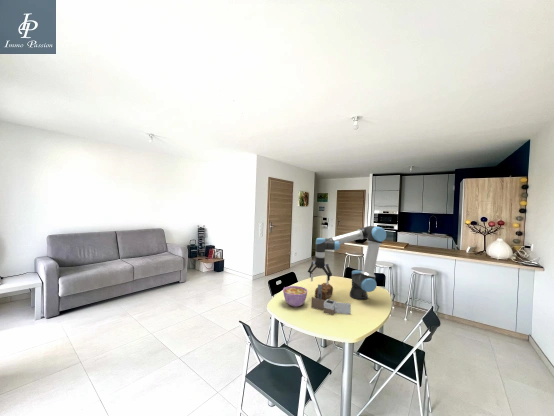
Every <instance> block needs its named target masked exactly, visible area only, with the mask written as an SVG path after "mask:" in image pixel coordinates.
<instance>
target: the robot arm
mask: <svg viewBox="0 0 554 416" xmlns="http://www.w3.org/2000/svg"><path fill="white" fill-rule="evenodd" d="M386 238H387V232H386V230H385V229H384V228H383V227H380V226H375V225H368V226H364V227H361V228H358V229H357V230H355V231H350V232H347V233H344V234H340V235H336V236H331V237H330V238H324V237H323V238H322V237H317V238H316V240H315V261H314V260H313V261H311V265H310V266H309V268H308V269H307V273H309V278H310V282H313V281H314V273H313V272H314V271H315V270H316V269H322V271H323V272H324V273H325V274H326V283H327V285H328V284H330V283H329V281H330V280H331V279H330V278H331V277H332V276H333V273H332V271H331V268H330V266H329V263H325V261H326V258H325V257H326V255H325V254H326V251H339V250H340V248H341V245H342V244H346V243H349V242H353V241H356V240H364V239H367V240H366V241H367V243H368V245H367V250H366V252H365V253H366V255H365V258H364V264H363V270H359V269H357V270H356V269H355V270H352V271H351V288H350V290H349V297H351V298H353V299H355V300H361V301H362V300H363V301H364V300H368V293H371V292H373V291H375V290H376V289H377V281H376V274H375V270H376V266H377V265H376V264H377V262H378V261H377V260H378V256H379V250H380V246H381V245H382V244H383V242H384V241H385V240H386ZM314 265H315V266H314Z"/></svg>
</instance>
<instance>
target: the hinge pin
mask: <svg viewBox="0 0 554 416" xmlns="http://www.w3.org/2000/svg"><path fill="white" fill-rule="evenodd" d="M317 287H318V299H322V285H321V284H317Z"/></svg>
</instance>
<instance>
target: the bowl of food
mask: <svg viewBox="0 0 554 416" xmlns="http://www.w3.org/2000/svg"><path fill="white" fill-rule="evenodd" d="M282 292H283V297H284V302H285V303H287V304H288V305H289V306H291V307H295V308H296V307H300V306H302V305H304V304H305V302H306V300H307V296H308V292H309V290H308V289H307V288H306V287H303V286H298V285H289V286H286V287H285V286H284V287H283V289H282Z"/></svg>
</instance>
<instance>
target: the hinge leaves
mask: <svg viewBox="0 0 554 416" xmlns="http://www.w3.org/2000/svg"><path fill="white" fill-rule="evenodd" d="M351 305H352V304H351V303H349V302H337V301H336V300H333V299H329V298H328V299H327V300H321V299H317V298H315V297H311V308H313V309H315V310H316V309H317V310H318V311H319V310H320V311H323V314H327V315H331V316H334V315H335V314H342V315H352V313H351V311H352V310H351V308H352V306H351Z"/></svg>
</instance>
